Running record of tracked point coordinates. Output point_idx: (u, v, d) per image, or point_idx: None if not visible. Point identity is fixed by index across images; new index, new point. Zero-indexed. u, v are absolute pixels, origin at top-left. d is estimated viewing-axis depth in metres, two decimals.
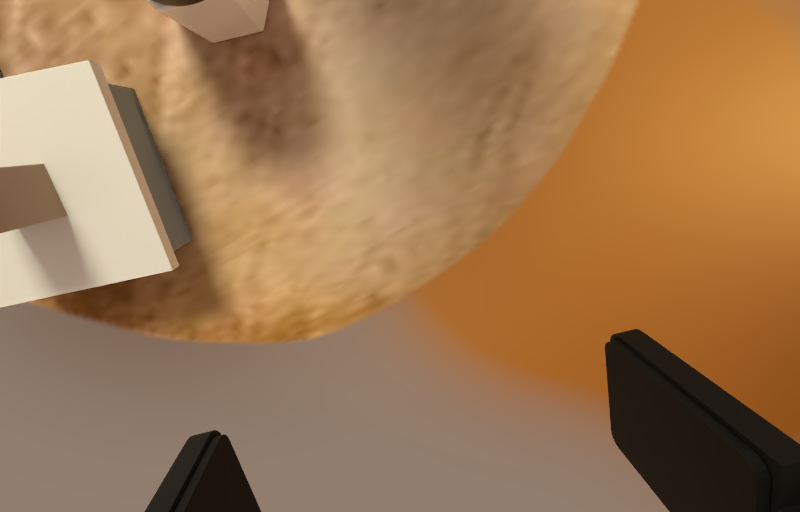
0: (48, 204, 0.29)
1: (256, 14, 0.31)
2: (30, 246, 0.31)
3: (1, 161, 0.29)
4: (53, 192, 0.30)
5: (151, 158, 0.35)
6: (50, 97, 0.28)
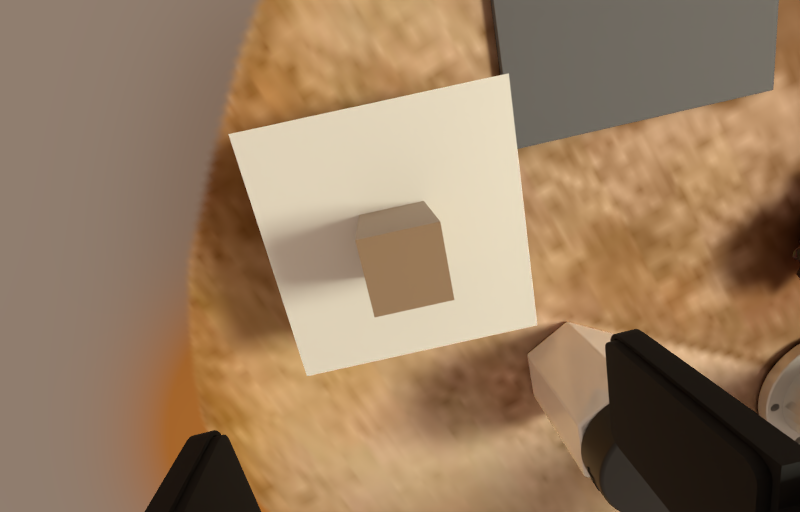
0: None
1: None
2: (332, 225, 0.24)
3: (439, 217, 0.24)
4: None
5: None
6: (505, 283, 0.26)
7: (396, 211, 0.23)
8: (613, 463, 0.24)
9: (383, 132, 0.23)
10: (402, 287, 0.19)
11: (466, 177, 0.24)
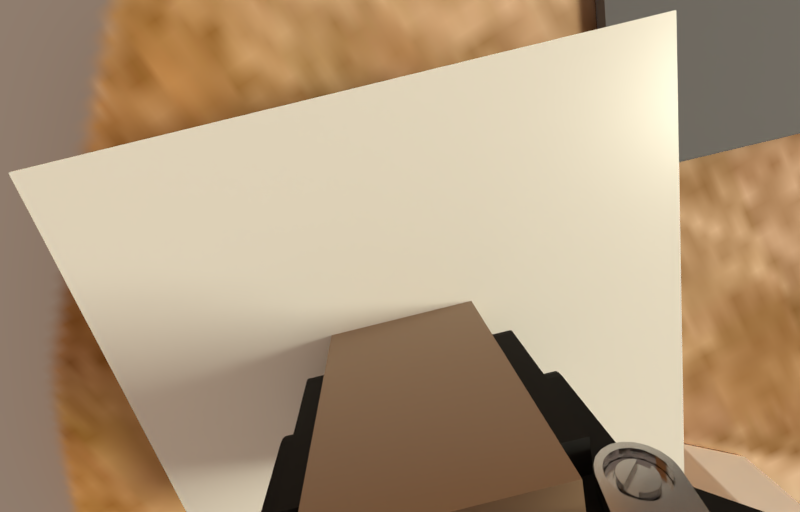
0: None
1: None
2: (274, 358, 0.11)
3: (504, 331, 0.11)
4: None
5: None
6: None
7: (414, 340, 0.10)
8: None
9: (379, 157, 0.10)
10: None
11: (564, 249, 0.11)
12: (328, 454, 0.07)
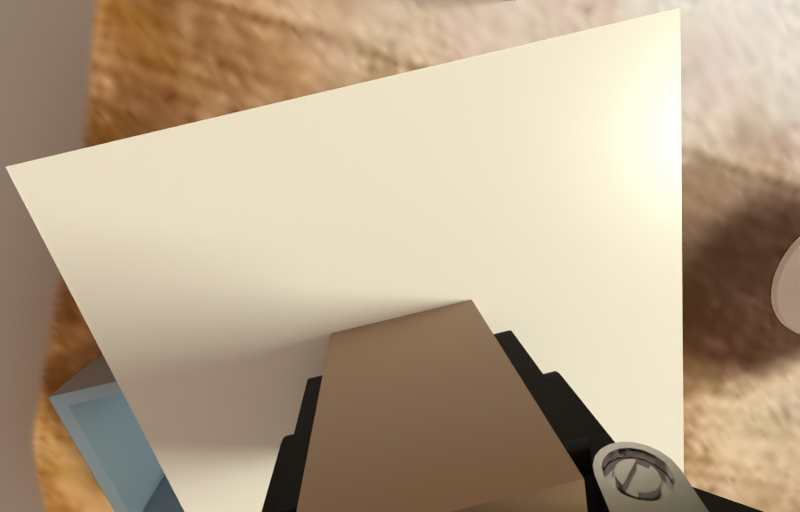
0: None
1: None
2: (272, 355, 0.11)
3: None
4: None
5: None
6: None
7: (414, 339, 0.10)
8: None
9: (380, 154, 0.10)
10: None
11: (565, 248, 0.11)
12: (327, 453, 0.07)
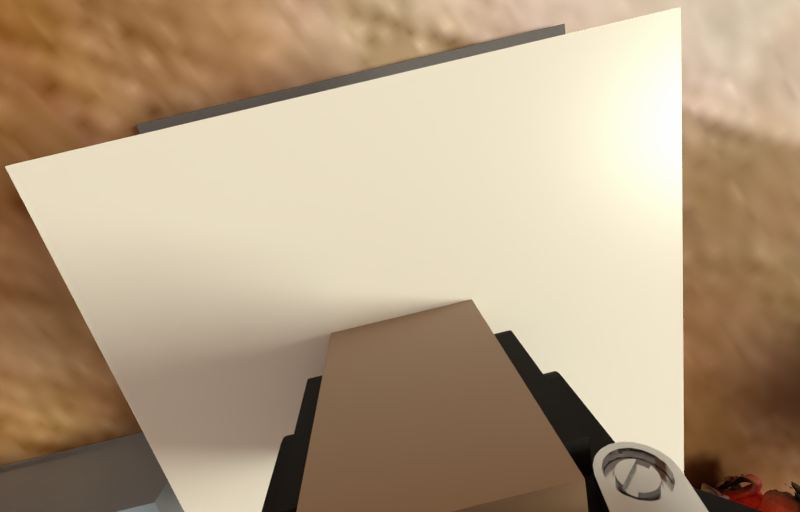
0: None
1: None
2: (272, 355, 0.11)
3: (504, 330, 0.11)
4: None
5: None
6: None
7: (414, 339, 0.10)
8: None
9: (381, 153, 0.10)
10: None
11: (566, 248, 0.11)
12: (327, 452, 0.07)
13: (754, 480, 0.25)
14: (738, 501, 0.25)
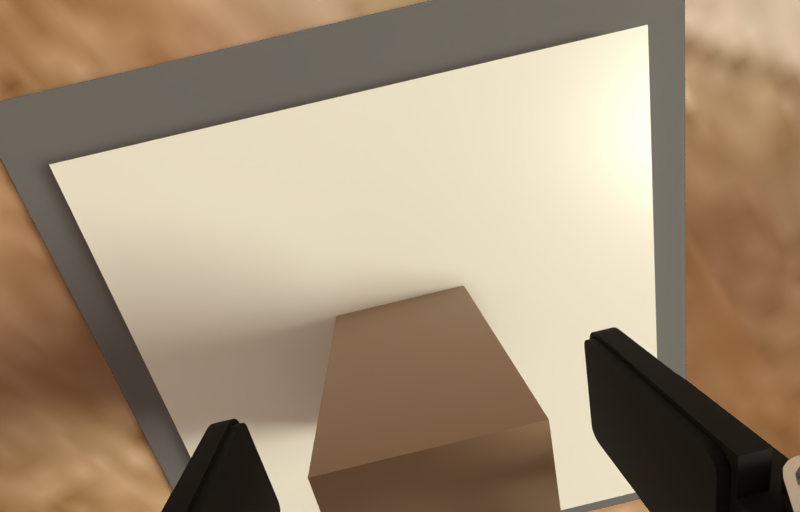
0: None
1: None
2: (284, 336, 0.12)
3: (493, 314, 0.12)
4: None
5: None
6: None
7: (412, 319, 0.11)
8: None
9: (382, 154, 0.11)
10: None
11: (548, 239, 0.12)
12: (336, 408, 0.08)
13: None
14: None
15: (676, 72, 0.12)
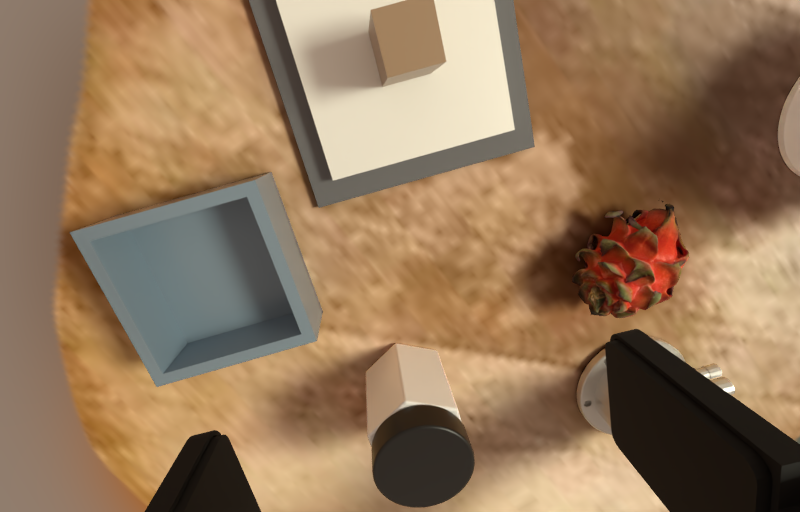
0: (397, 81, 0.30)
1: None
2: (347, 41, 0.30)
3: None
4: (405, 80, 0.31)
5: None
6: (487, 92, 0.32)
7: None
8: (380, 467, 0.30)
9: None
10: (406, 51, 0.26)
11: None
12: None
13: (643, 210, 0.37)
14: None
15: None
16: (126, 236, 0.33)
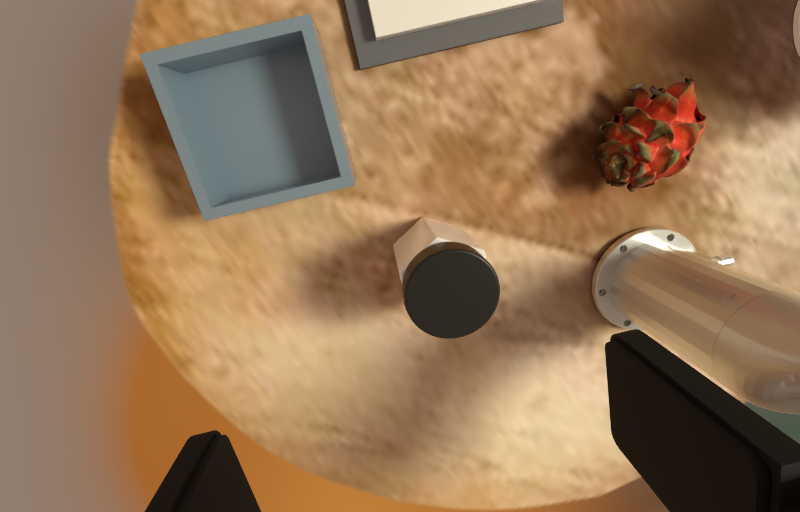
0: None
1: None
2: None
3: None
4: None
5: None
6: None
7: None
8: (412, 289, 0.33)
9: None
10: None
11: None
12: None
13: None
14: None
15: None
16: (183, 81, 0.36)
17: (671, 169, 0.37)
